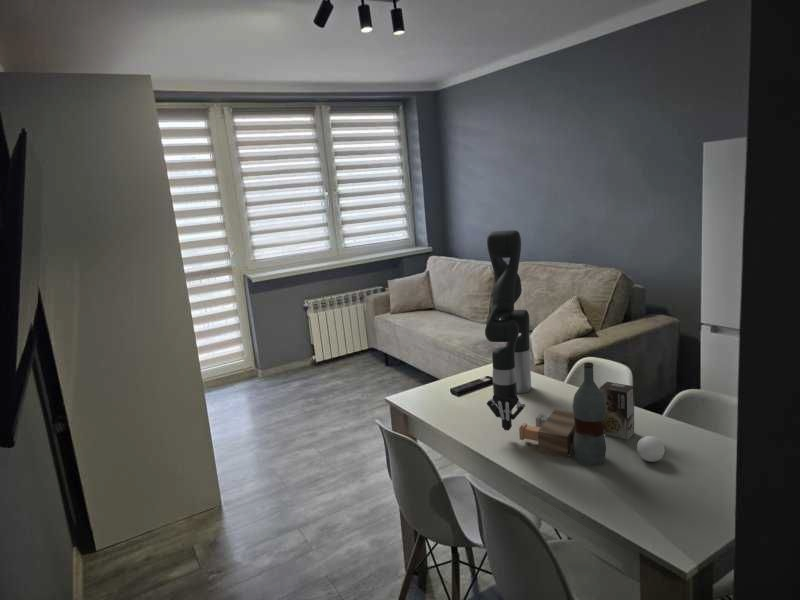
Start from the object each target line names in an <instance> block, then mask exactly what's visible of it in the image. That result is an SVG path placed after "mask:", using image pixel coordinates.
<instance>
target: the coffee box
mask: <svg viewBox="0 0 800 600" xmlns="http://www.w3.org/2000/svg"><path fill="white" fill-rule="evenodd" d="M598 388H599V390H600V391H601V392H602V394H603V396H604V399H605V405H606V413H605V423H604V435H606V436H611V437H615V438H619V439H622V440H629V439H630V438H631V437H632V436H633V435H634V434H635V386H634V385H629V384H622V383H618V382H611V381H606V382H604V383H603V384H602V385H601V386H600V387H598Z"/></svg>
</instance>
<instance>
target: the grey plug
mask: <svg viewBox="0 0 800 600" xmlns="http://www.w3.org/2000/svg"><path fill="white" fill-rule="evenodd" d="M549 416H550V415H544V413H540V412H539V413H538V415H536V417H535V427H540V428H541V427H542V425H543V424H544V423H545V421H546V420H547V419H548V417H549Z"/></svg>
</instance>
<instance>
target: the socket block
mask: <svg viewBox="0 0 800 600" xmlns="http://www.w3.org/2000/svg"><path fill="white" fill-rule="evenodd" d="M548 416H549V417H548V419H547V420H546V421H545V423H544V424H543V425H542V427H541V428H540V429H539V431H538V441H537V443H538V444H537V445H538V453H541V454H545V455H551V456H556V457H561V458H569V457H570V455H571V453H572V452H573V451H574V436H575V421H574V412H573V411H570V410H563V409H558V408H557V409H556V408H555V409H554V410H553V411H552V412H551V413H550V415H548Z"/></svg>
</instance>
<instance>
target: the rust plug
mask: <svg viewBox="0 0 800 600" xmlns="http://www.w3.org/2000/svg"><path fill="white" fill-rule="evenodd" d="M518 429H519V431H518V432H519V441H520V440H521V441H524V440H530V441H536V442H538V431H539V429H540V427H536V425H535V426H533V425H528V423H527V422H526V423H525V422H523V423H522V424H521V425H520V426H519V428H518Z"/></svg>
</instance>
